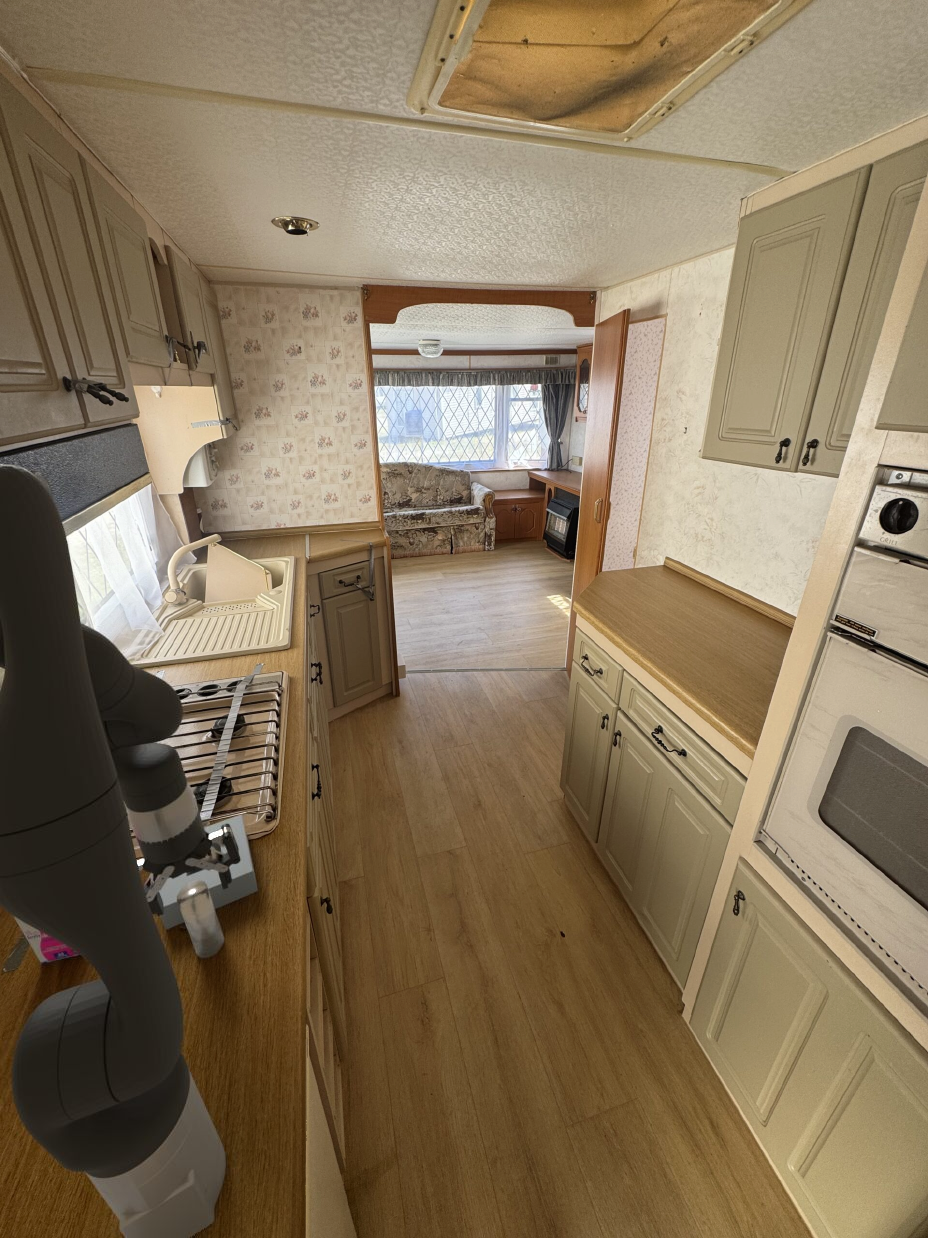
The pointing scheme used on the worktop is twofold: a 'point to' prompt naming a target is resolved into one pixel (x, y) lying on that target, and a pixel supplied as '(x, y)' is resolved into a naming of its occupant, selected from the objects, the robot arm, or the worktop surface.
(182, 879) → the bore block
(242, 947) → the worktop surface
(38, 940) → the supplement box
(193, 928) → the pin
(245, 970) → the worktop surface
